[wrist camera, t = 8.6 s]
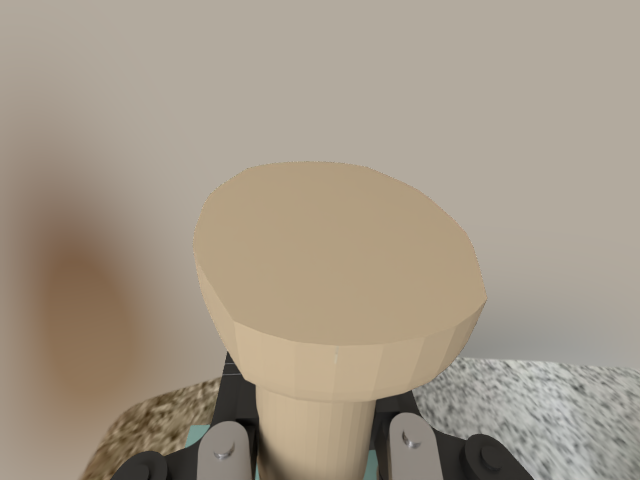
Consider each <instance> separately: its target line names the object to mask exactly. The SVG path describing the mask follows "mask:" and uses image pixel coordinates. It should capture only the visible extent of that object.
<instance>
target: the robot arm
mask: <svg viewBox="0 0 640 480" xmlns="http://www.w3.org/2000/svg"><path fill="white" fill-rule="evenodd" d="M369 450H375V451H376V456H377V461H378V465H377V470H376V478H377V480H534V479H533V477H532V476H531V475H530V474H529V473H528V472H527V471H526V470H525V469H524V467H523V466H522V465H521V464H520V463H519V462H518V461H517V460H516V459H515V457H514V456H513V455H512V454H511V453H510V452H509V451H508V450H507V449H506V448H505V447H504V446H503V445H502V444H501V443H500V442H499V441H497V440H496V439H494V438H492V437H490V436H488V435H484V434H475V435H472V436H471V437H469V438H468V440H464V439H461V438H457V437H454V436H451V435H447V434H444V433H442V432H439V431H437V430H436V429H434V428H433V427H431V426H430V425H429V424H428V423H427V422H426V421H425V420H424V419H423V417H422V416H421V414H420V412H419V410H418V407H417V405H416V402H415V399H414V396H413V393H412V390H410V391H408V392H405V393H403V394H398V395H394V396H389V397H385V398H381V399H376V405H375V412H374V419H373V425H372V432H371V439H370V446H369ZM257 456H259V415H258V411H257V405H256V385H255V384H253V383H251V382H249V381H247V380H245V379H244V377H243V376H242V374H241V372H240V371H239V369H238V367H237V366H236V364H235V362H234V361H233V359H232V358H231V356H230V354H229V352H228V351H227V356H226V361H225V366H224V370H223V376H222V379H221V383H220V388H219V393H218V397H217V402H216V406H215V411H214V415H213V419H212V422H211V425H210V427H209V428H208V430H207V431H206V433H205V434H204V435H203V436H202V437H201V438H200V439H199V440H198V441H197V442H195V443H194V444H192V445H190V446H188V447H186V448H184V449H181V450H179V451H176V452H174V453H171V454H169V455H166V456H164V457H163V456H162V455H161V454H160V453H158V452H155V451H145V452H141V453H139V454H136V455H134V456H133V457H131V458H130V459H128V460H127V461H126V462H125V463H124V464H123V465H121V467H120V468H119V469H118V470H117V471H116V473H115V474H114V475H113V477H112V478H111V479H110V480H255V477H256V466H257Z"/></svg>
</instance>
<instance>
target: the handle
mask: <svg viewBox="0 0 640 480" xmlns="http://www.w3.org/2000/svg"><path fill="white" fill-rule="evenodd" d="M193 250H194V256H195V263H196V268H197V275H198V279H199V284H200V288H201V292H202V296H203V298H204V301H205V303H206V306H207V308H208V311H209V313H210V315H211V317H212V320H213V322H214V324H215V326H216V329H217V331H218V333H219V335H220V337H221V339H222V341H223V343H224V345H225V347H226V348H227V350H228V352H229V354H230V356H231V358H232V359H233V361H234V362H235V364H236V366H237V367H238V369H239V371H240V372H241V374H242V376H243V377H244V379H245V380H247V381H249V382H251V383H253V384H255V385H256V405H257V411H258V415H259V456H257V467H258V473H259V480H363V478H364V474H365V471H366V466H367V461H368V454H369V446H370V439H371V432H372V425H373V419H374V412H375V405H376V399H381V398H385V397H389V396H394V395H398V394H403V393H405V392H408V391H410V390H412V389H415V388H417V387H419V386H422V385H424V384H426V383H428V382H430V381H432V380H433V379H434V378H435V377H437V376H438V375H439V374H440V373H441V372H443V371H444V370H445V369H446V368H447V367H448V366H449V365H451V363H452V362H453V361H454V360H455V358H456V357H457V356H458V355H459V353H460V352H461V351H462V349H463V348H464V346H465V345H466V343H467V342H468V339H469V337H470V335H471V333H472V331H473V329H474V327H475V325H476V323H477V321H478V318H479V316H480V314H481V312H482V309H483V307H484V305H485V303H486V300H487V295H486V291H485V287H484V284H483V280H482V276H481V272H480V267H479V264H478V261H477V257H476V254H475V251H474V247H473V245H472V243H471V241H470V239H469V237H468V236H467V234H466V232H465V231H464V230H463V229H462V228H461V227H460V226H459V224H458V223H457V222H456V221H455V220H454V219H453V218H452V217H451V216H449V215H448V214H447V213H446V212H445V211H443V209H441V208H440V207H439V206H438V205H437V204H436V203H435V202H433V201H432V200H431V199H430V198H428V197H427V196H426V195H424V194H423V193H422V192H420V191H419V190H417V189H415V188H413V187H411V186H409V185H407V184H406V183H403V182H401V181H399V180H397V179H394V178H392V177H390V176H387V175H385V174H383V173H380V172H378V171H375V170H373V169H370V168H368V167H364V166H358V165H352V164H345V163H334V162H309V161H306V162H284V163H272V164H266V165H260V166H255V167H251V168H247V169H246V170H244V171H242V172H241V173H239V174H237V175H236V176H234V177H233V178H231V179H230V180H228V181H227V182H225V183H224V184H222V185H220V186H219V187H218V188H217V189H216V190H214V191H213V192H212V193H211V194H210V195H209V197H208V198H207V200H206V202H205V203H204V205H203V208H202V211H201V214H200V217H199V219H198V222H197V225H196V228H195V232H194V239H193Z"/></svg>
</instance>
